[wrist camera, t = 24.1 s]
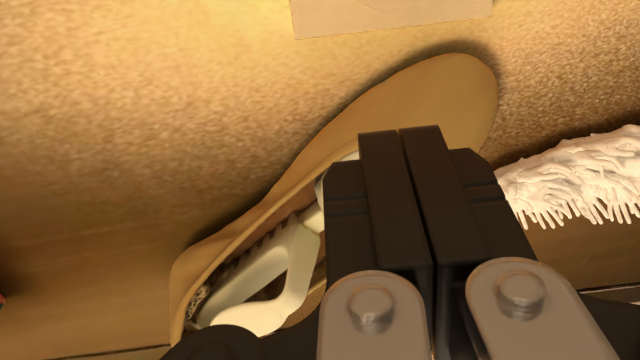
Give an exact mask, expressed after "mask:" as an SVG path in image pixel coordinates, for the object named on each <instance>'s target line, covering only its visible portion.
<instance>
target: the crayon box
mask: <svg viewBox="0 0 640 360" xmlns="http://www.w3.org/2000/svg"><path fill="white" fill-rule="evenodd" d="M5 301H6V299H5V298H4V296H3V295H2V294H1V293H0V309H1V308H2V306H3V304H4V303H5Z"/></svg>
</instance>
